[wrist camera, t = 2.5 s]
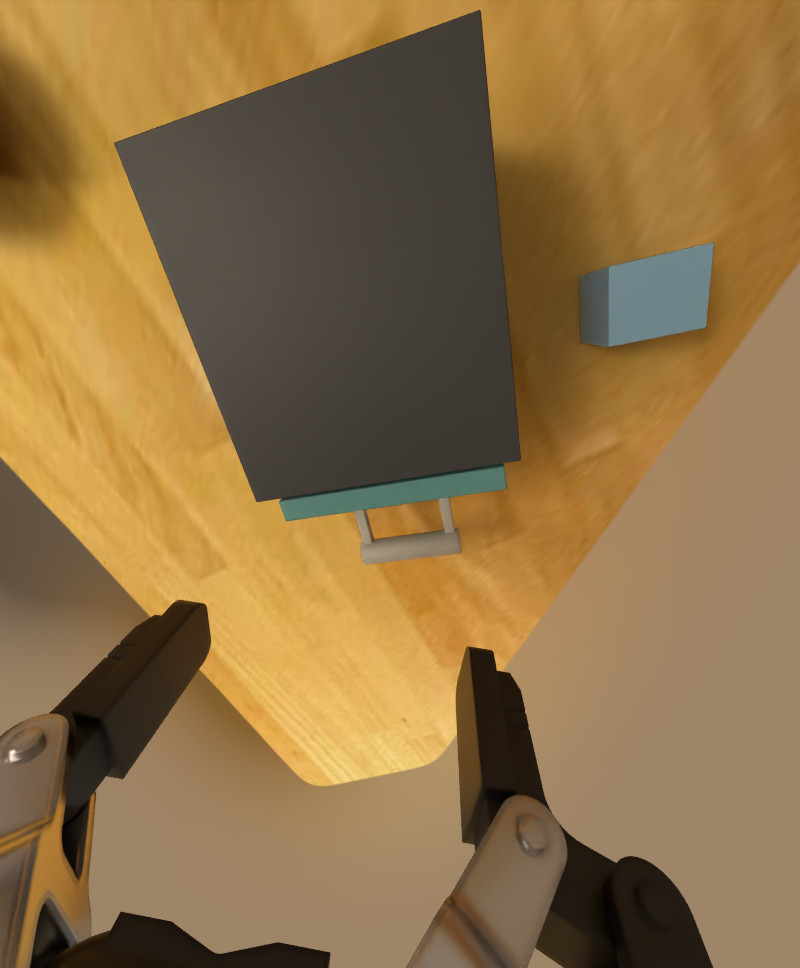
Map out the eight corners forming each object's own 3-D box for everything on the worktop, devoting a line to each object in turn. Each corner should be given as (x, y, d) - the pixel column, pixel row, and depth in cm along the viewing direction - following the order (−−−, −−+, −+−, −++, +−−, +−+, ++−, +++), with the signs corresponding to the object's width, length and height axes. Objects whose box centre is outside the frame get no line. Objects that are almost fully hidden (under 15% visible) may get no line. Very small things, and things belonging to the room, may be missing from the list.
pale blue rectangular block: (664, 256, 20) (714, 241, 16) (660, 326, 21) (706, 327, 18) (578, 276, 21) (608, 266, 17) (580, 343, 22) (608, 347, 18)
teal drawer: (496, 509, 26) (516, 574, 19) (343, 530, 28) (313, 596, 21) (459, 207, 19) (470, 148, 13) (260, 263, 21) (179, 236, 15)
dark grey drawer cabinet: (492, 413, 24) (521, 460, 16) (313, 445, 26) (256, 502, 18) (462, 145, 19) (480, 8, 11) (240, 212, 21) (113, 142, 13)
